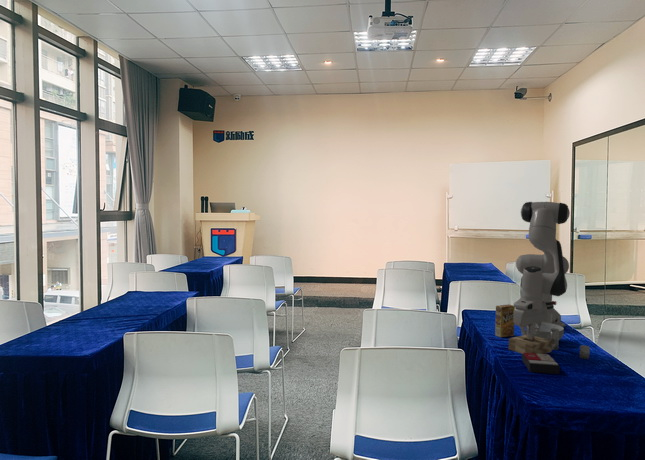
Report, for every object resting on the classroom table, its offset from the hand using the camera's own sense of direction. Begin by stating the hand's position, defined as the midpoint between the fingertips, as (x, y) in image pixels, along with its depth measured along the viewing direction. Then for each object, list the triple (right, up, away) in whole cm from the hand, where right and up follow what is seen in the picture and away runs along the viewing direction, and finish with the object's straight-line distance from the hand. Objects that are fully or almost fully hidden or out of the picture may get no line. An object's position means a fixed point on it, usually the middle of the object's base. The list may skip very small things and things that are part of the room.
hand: (530, 333), depth 210 cm
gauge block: (0, -8, 0) cm, 8 cm away
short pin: (+20, -9, -9) cm, 23 cm away
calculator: (-5, -10, -20) cm, 23 cm away
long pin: (0, -8, 0) cm, 8 cm away
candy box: (-3, -7, +23) cm, 25 cm away
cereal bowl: (+14, -7, +16) cm, 22 cm away
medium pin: (+12, -8, +3) cm, 15 cm away
